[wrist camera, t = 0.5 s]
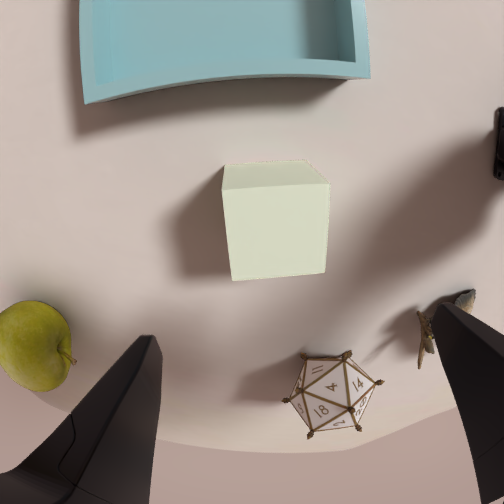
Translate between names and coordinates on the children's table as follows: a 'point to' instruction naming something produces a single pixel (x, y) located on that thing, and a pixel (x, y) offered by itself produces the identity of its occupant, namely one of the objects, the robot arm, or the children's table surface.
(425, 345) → the eagle figurine
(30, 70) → the children's table surface
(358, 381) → the game die
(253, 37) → the tray
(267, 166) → the sage block
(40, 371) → the apple
